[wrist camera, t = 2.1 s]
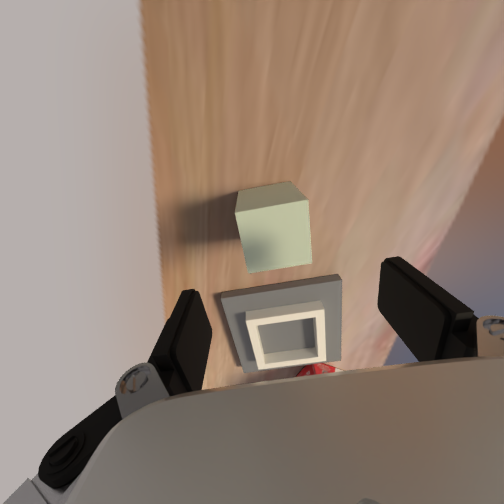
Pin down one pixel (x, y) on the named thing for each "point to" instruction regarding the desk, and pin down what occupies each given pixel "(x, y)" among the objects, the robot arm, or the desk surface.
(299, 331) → the baseplate
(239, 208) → the sage block
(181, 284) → the desk surface
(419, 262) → the desk surface
